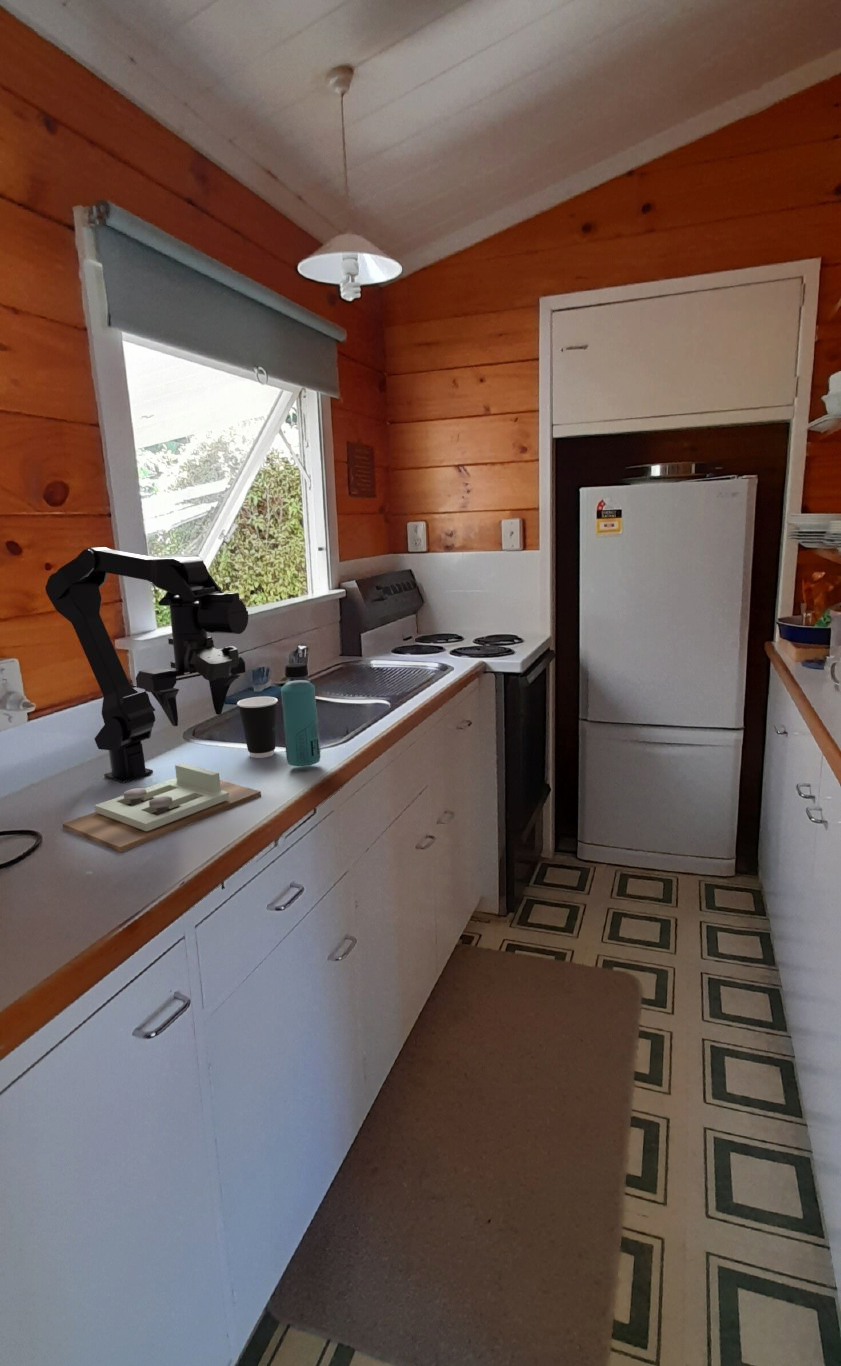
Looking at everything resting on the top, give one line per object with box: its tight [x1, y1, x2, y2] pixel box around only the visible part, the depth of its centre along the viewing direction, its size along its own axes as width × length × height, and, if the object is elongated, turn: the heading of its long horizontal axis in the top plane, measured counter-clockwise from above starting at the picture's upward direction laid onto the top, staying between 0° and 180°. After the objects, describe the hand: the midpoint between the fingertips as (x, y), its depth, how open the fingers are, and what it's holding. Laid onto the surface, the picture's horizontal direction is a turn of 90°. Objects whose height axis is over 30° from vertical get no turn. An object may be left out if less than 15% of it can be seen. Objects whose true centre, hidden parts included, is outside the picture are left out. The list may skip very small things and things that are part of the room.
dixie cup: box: [236, 696, 279, 759], centre depth 147 cm, size 8×8×11 cm
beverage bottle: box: [280, 662, 322, 767], centre depth 136 cm, size 6×7×20 cm
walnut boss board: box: [61, 780, 262, 853], centre depth 119 cm, size 16×26×4 cm, turn 143°
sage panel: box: [94, 762, 229, 831], centre depth 119 cm, size 14×15×4 cm
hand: (197, 720), depth 129 cm, fingers open, 9 cm apart
